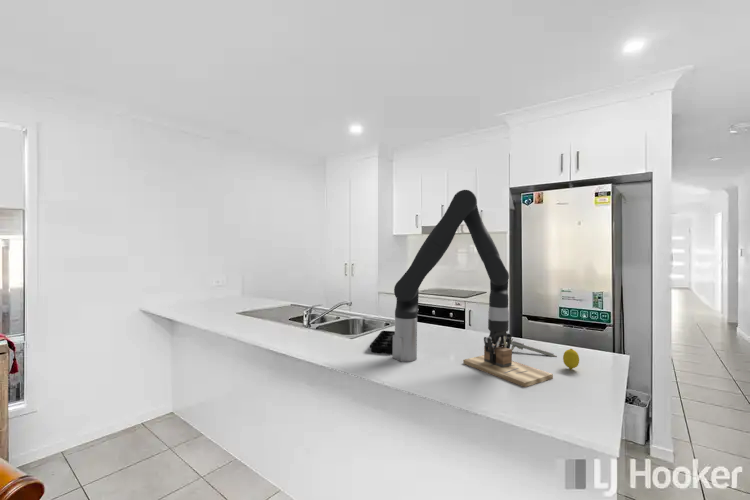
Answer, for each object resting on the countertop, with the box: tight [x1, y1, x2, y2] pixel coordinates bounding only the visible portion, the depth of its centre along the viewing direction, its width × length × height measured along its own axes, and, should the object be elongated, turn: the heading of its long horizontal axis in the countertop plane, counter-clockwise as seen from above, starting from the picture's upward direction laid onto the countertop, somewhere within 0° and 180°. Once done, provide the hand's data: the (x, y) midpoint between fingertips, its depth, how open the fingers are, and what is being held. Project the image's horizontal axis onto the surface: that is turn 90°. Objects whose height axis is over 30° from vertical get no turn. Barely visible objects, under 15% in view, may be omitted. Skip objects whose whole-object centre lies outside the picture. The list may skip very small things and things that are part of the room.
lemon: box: [562, 348, 580, 370], centre depth 142 cm, size 6×6×8 cm
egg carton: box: [369, 330, 395, 355], centre depth 173 cm, size 18×30×4 cm, turn 0°
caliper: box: [506, 337, 557, 358], centre depth 163 cm, size 20×1×6 cm, turn 65°
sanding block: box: [483, 344, 513, 367], centre depth 144 cm, size 9×5×6 cm, turn 33°
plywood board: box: [462, 354, 554, 388], centre depth 140 cm, size 16×28×2 cm, turn 32°
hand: (497, 361), depth 144 cm, fingers closed on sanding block, 5 cm apart
